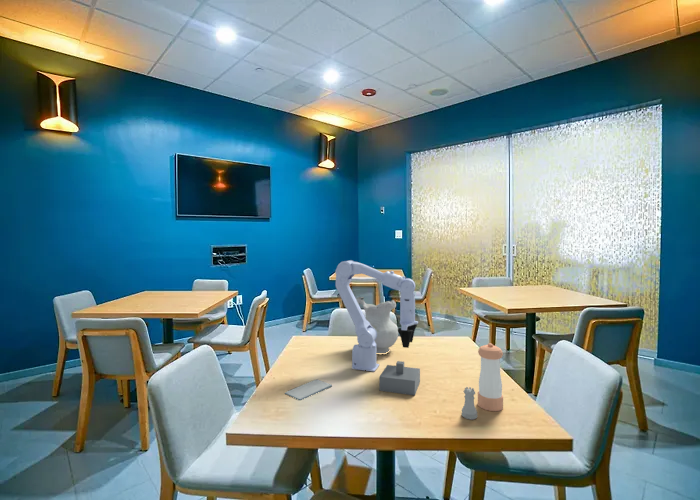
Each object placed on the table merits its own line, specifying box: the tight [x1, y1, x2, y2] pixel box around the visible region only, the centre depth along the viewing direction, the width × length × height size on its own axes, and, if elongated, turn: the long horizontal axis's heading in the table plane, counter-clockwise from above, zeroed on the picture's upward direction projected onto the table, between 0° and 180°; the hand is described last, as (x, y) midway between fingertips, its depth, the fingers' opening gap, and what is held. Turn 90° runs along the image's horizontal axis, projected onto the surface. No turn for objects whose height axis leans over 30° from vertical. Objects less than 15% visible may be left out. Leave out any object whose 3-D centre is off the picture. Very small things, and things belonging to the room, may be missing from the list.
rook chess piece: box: [460, 386, 478, 420], centre depth 101 cm, size 4×4×8 cm
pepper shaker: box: [477, 342, 504, 412], centre depth 107 cm, size 7×7×19 cm
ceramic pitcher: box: [356, 296, 399, 353], centre depth 164 cm, size 22×20×25 cm
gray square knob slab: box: [378, 360, 421, 396], centre depth 123 cm, size 12×12×8 cm
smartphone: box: [284, 378, 332, 401], centre depth 120 cm, size 8×1×15 cm
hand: (407, 344), depth 137 cm, fingers open, 7 cm apart
